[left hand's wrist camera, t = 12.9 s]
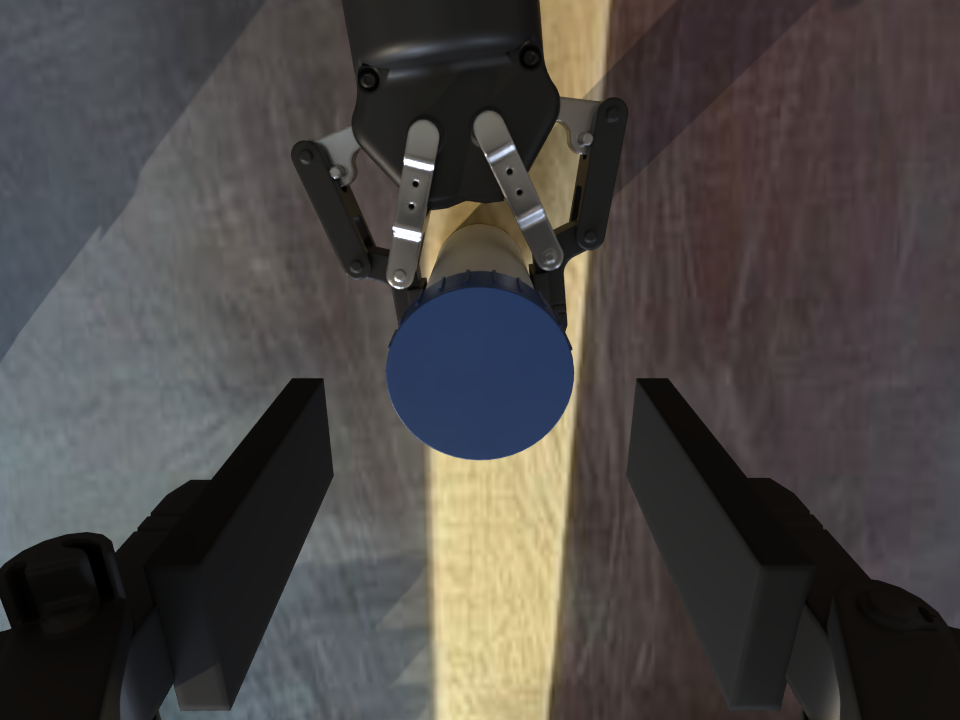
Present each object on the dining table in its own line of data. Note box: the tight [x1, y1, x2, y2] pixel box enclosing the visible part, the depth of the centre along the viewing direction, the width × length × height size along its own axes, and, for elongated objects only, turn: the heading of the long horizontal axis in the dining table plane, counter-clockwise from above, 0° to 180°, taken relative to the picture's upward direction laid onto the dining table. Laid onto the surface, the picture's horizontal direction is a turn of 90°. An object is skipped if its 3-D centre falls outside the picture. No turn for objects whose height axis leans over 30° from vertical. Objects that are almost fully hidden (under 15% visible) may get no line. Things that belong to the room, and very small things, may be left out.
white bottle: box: [426, 224, 534, 289], centre depth 25 cm, size 5×5×16 cm
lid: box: [386, 269, 574, 460], centre depth 18 cm, size 6×6×2 cm
